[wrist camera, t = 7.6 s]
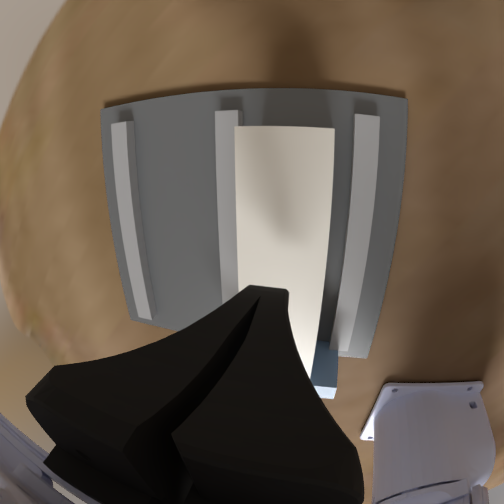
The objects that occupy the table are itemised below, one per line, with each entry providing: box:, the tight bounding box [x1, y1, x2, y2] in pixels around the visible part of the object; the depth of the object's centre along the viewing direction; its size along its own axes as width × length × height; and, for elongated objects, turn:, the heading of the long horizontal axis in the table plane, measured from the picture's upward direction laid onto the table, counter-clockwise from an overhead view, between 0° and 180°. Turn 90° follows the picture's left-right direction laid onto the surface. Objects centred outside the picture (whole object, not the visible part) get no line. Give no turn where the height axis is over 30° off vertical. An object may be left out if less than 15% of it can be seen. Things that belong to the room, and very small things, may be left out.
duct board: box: [101, 88, 408, 399], centre depth 15 cm, size 18×16×4 cm
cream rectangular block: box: [234, 126, 335, 378], centre depth 14 cm, size 4×12×4 cm, turn 1°
